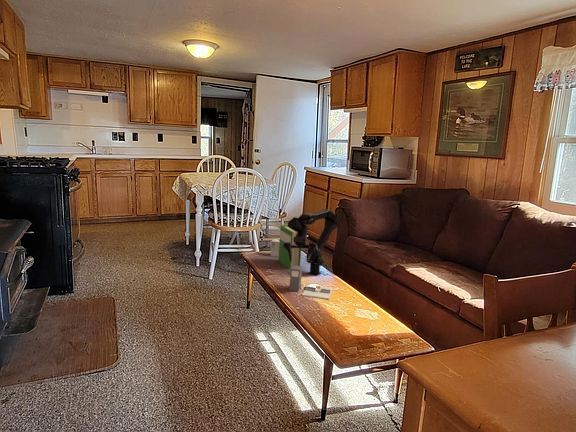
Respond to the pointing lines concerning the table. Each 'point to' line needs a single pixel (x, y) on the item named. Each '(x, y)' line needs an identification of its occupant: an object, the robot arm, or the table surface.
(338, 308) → the table surface
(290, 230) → the hardback book
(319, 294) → the board
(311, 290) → the din rail
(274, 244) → the light bulb box
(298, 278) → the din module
